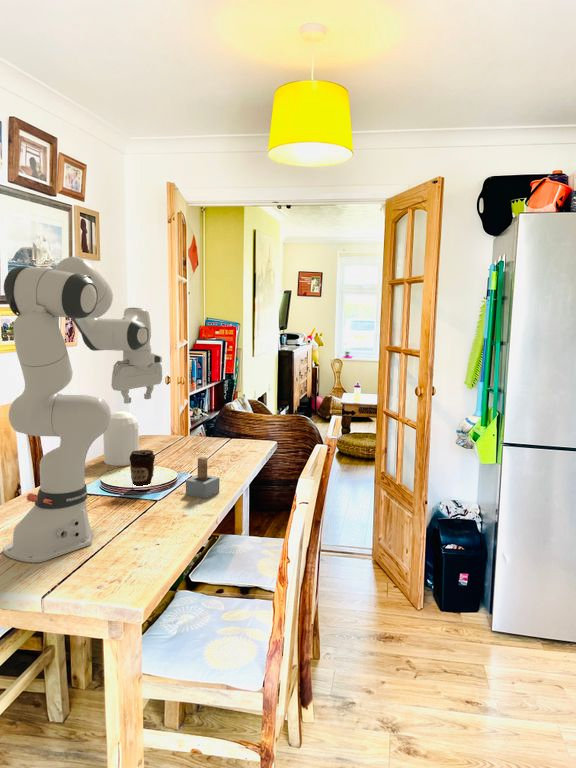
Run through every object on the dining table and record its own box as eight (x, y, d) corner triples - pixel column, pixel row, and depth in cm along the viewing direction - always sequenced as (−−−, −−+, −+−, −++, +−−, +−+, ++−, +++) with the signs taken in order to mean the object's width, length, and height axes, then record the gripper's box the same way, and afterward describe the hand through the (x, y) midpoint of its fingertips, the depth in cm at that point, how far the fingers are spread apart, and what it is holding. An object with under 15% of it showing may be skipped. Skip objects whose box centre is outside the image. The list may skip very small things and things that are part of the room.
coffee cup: (148, 494, 193) (147, 455, 191) (125, 491, 194) (124, 454, 193) (159, 486, 201) (158, 449, 199) (136, 483, 203) (136, 447, 201)
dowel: (203, 495, 193) (203, 460, 191) (195, 493, 194) (195, 458, 193) (209, 492, 196) (209, 458, 194) (201, 491, 197) (201, 456, 195)
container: (137, 455, 239) (136, 407, 237) (141, 464, 227) (140, 413, 224) (102, 457, 235) (101, 408, 232) (105, 466, 222) (104, 415, 219)
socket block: (205, 498, 190) (205, 484, 189) (185, 494, 193) (185, 480, 193) (219, 492, 197) (219, 477, 196) (200, 487, 200) (200, 473, 200)
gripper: (121, 362, 176) (122, 406, 178) (165, 356, 194) (165, 397, 196) (106, 360, 179) (107, 404, 181) (150, 355, 197) (150, 395, 199)
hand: (137, 401), depth 189 cm, fingers open, 8 cm apart
